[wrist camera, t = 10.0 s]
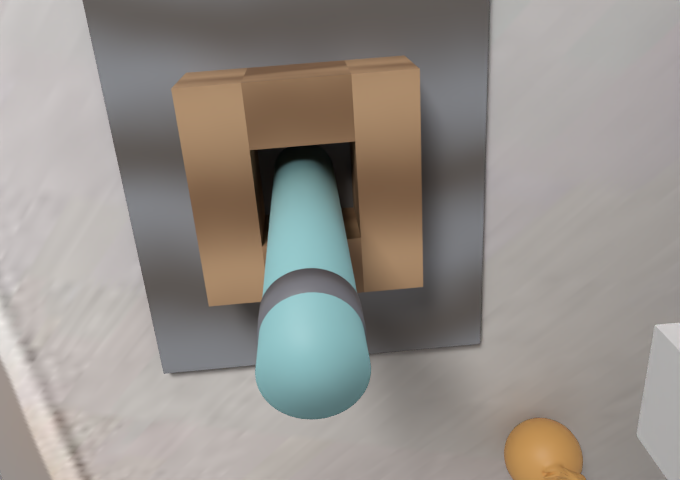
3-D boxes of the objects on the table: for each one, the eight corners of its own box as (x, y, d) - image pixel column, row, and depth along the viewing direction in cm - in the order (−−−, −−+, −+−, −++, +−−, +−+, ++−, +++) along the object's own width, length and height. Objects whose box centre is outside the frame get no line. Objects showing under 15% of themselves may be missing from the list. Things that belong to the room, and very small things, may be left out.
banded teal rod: (269, 143, 27) (246, 326, 14) (332, 138, 27) (370, 315, 14) (276, 202, 28) (260, 425, 15) (336, 197, 29) (375, 415, 15)
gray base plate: (72, -70, 24) (31, -75, 20) (487, -100, 25) (522, -110, 21) (166, 366, 32) (149, 419, 29) (477, 337, 33) (500, 385, 29)
